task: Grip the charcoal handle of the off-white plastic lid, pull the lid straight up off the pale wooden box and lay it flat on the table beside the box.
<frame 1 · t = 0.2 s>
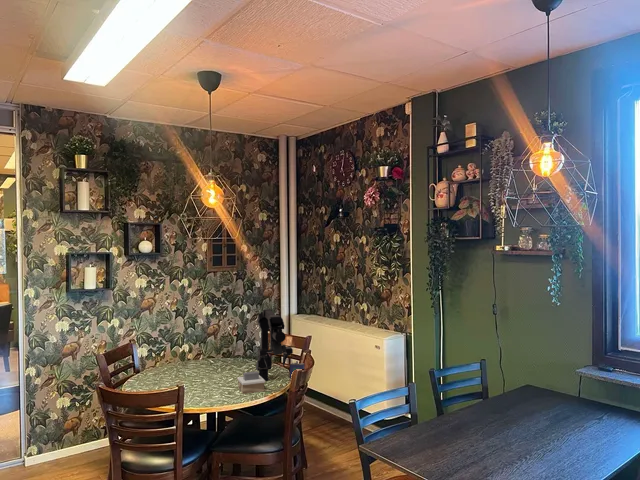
hand: (275, 366, 266), 14 cm above the table, tool pointing down, fingers open, 9 cm apart
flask: (297, 378, 294), on the table
lid: (251, 382, 271), point 4 cm above the table, touching box
box: (251, 389, 271), on the table
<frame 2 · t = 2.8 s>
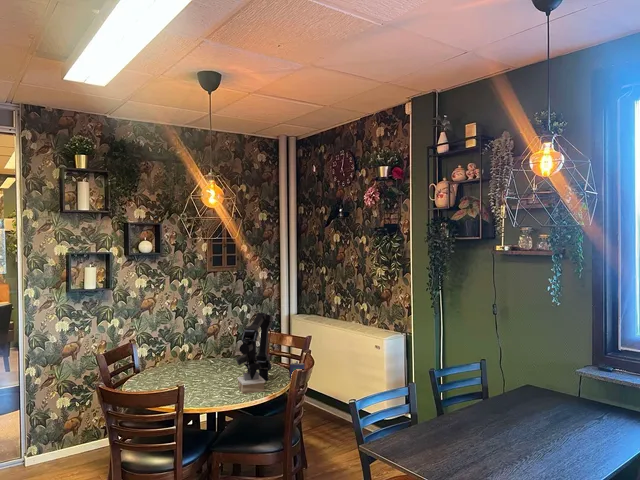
hand: (251, 377, 271), 7 cm above the table, tool pointing down, fingers closed on lid, 4 cm apart
lid: (251, 382, 271), point 4 cm above the table, touching box, gripper
everything else where it was.
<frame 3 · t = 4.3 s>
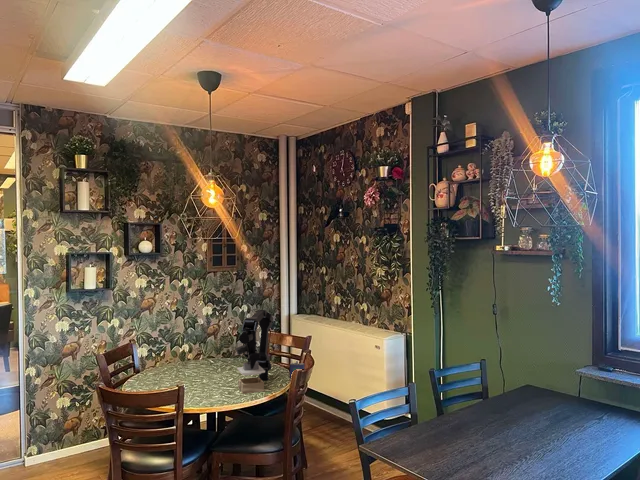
hand: (251, 367, 271), 12 cm above the table, tool pointing down, fingers closed on lid, 4 cm apart
lid: (250, 372, 271), point 10 cm above the table, touching gripper
everything else where it was.
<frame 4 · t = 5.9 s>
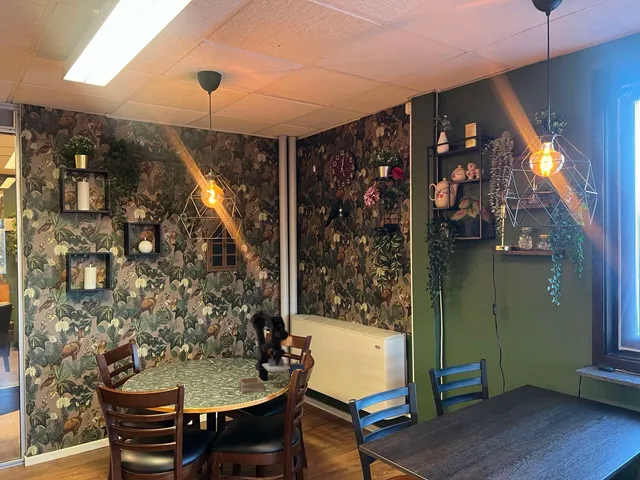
hand: (276, 364, 277), 13 cm above the table, tool pointing down, fingers closed on lid, 4 cm apart
lid: (275, 368, 277), point 10 cm above the table, touching gripper
everything else where it was.
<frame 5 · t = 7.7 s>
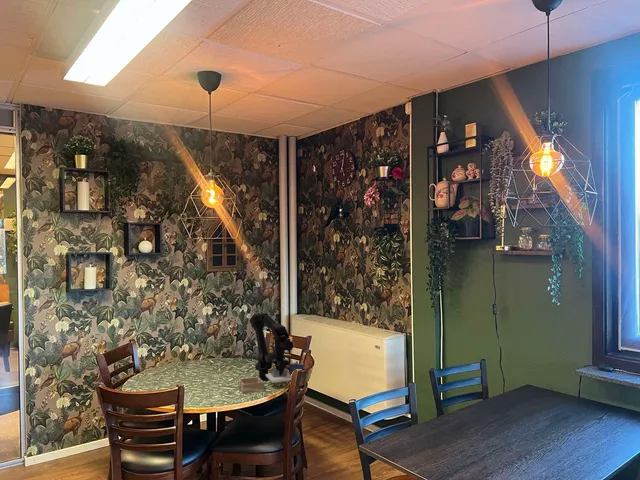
hand: (279, 374, 278), 7 cm above the table, tool pointing down, fingers closed on lid, 4 cm apart
lid: (279, 379, 278), point 4 cm above the table, touching gripper
everything else where it was.
when the fingers open (3 cm above the table, at t = 9.2 s): lid stays where it is, on the table.
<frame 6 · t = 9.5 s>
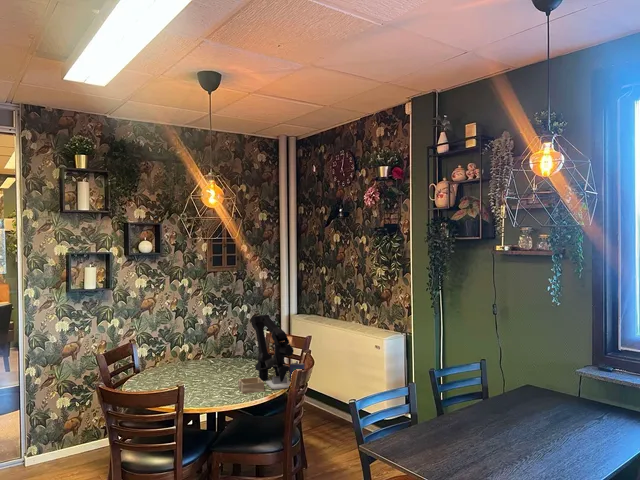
hand: (279, 380, 278), 3 cm above the table, tool pointing down, fingers open, 7 cm apart
lid: (279, 386, 278), on the table
everything else where it was.
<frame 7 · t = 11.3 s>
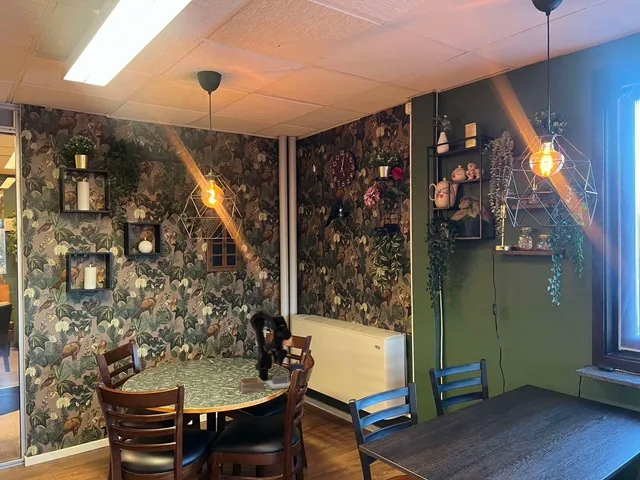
hand: (277, 364, 278), 13 cm above the table, tool pointing down, fingers open, 9 cm apart
nothing on the table moved.
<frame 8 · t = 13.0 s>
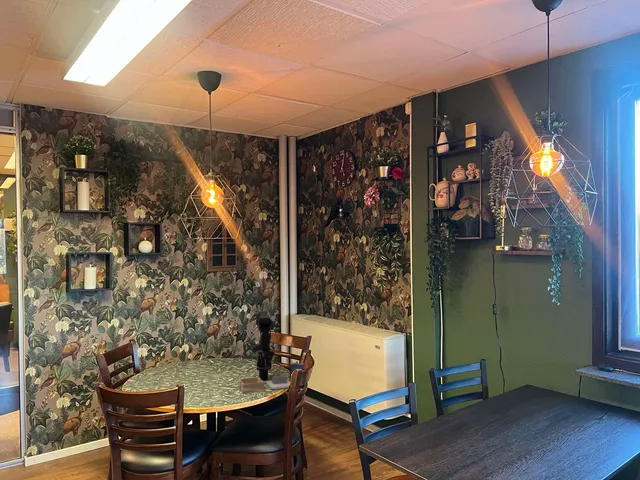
hand: (264, 365, 277), 12 cm above the table, tool pointing down, fingers open, 9 cm apart
nothing on the table moved.
at the end: lid inside the target area (0.0 cm from its centre), on the table; lid tilted 0°; the gripper is holding nothing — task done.
